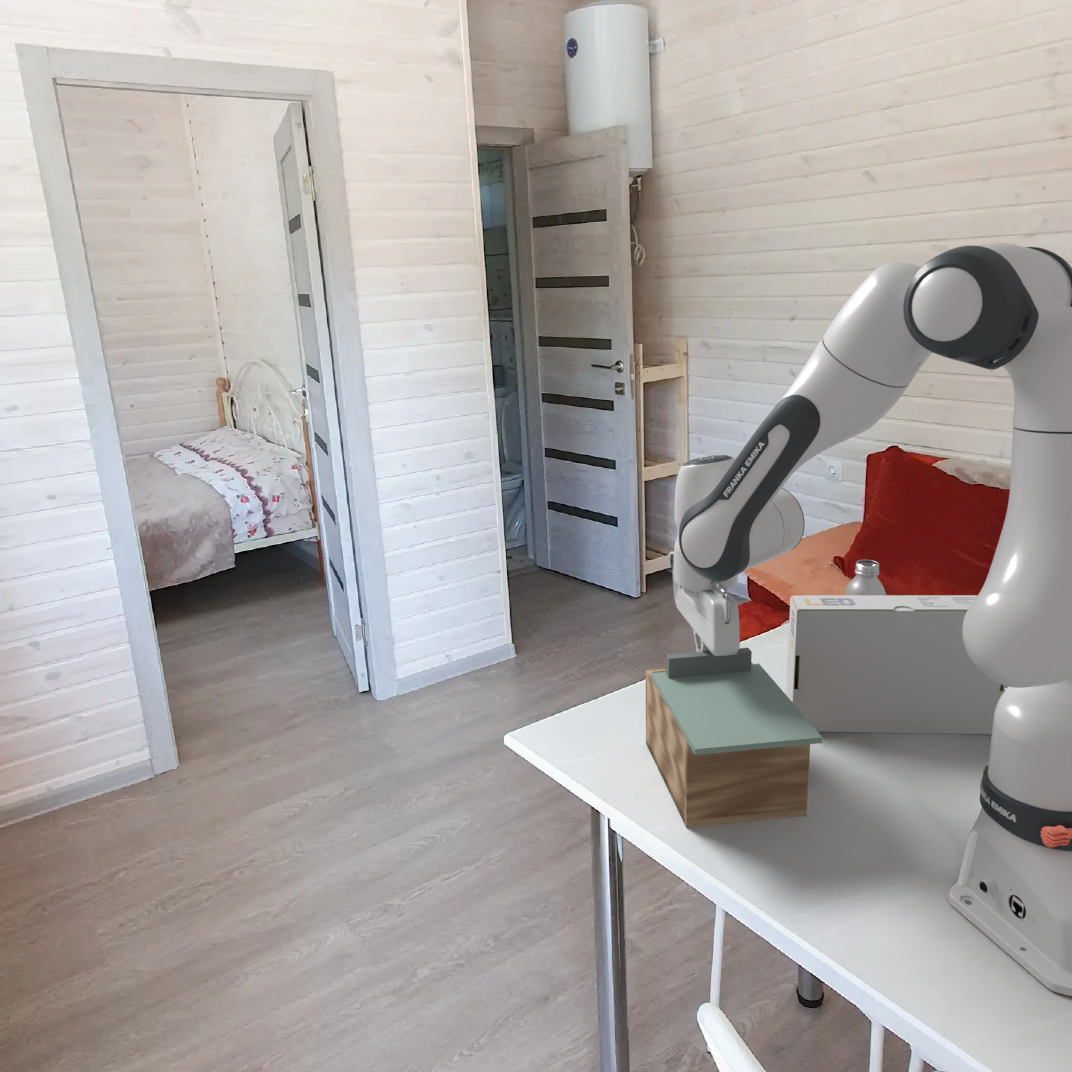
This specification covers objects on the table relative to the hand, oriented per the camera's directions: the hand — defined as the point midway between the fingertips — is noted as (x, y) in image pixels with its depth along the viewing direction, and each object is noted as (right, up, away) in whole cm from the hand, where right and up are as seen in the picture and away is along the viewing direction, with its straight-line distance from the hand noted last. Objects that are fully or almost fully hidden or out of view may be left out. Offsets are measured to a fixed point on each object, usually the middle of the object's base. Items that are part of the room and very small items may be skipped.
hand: (704, 659), depth 133 cm
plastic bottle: (+32, -6, +26) cm, 42 cm away
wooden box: (+1, -16, -4) cm, 16 cm away
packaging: (+30, -11, +9) cm, 33 cm away
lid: (+1, -5, -11) cm, 12 cm away
